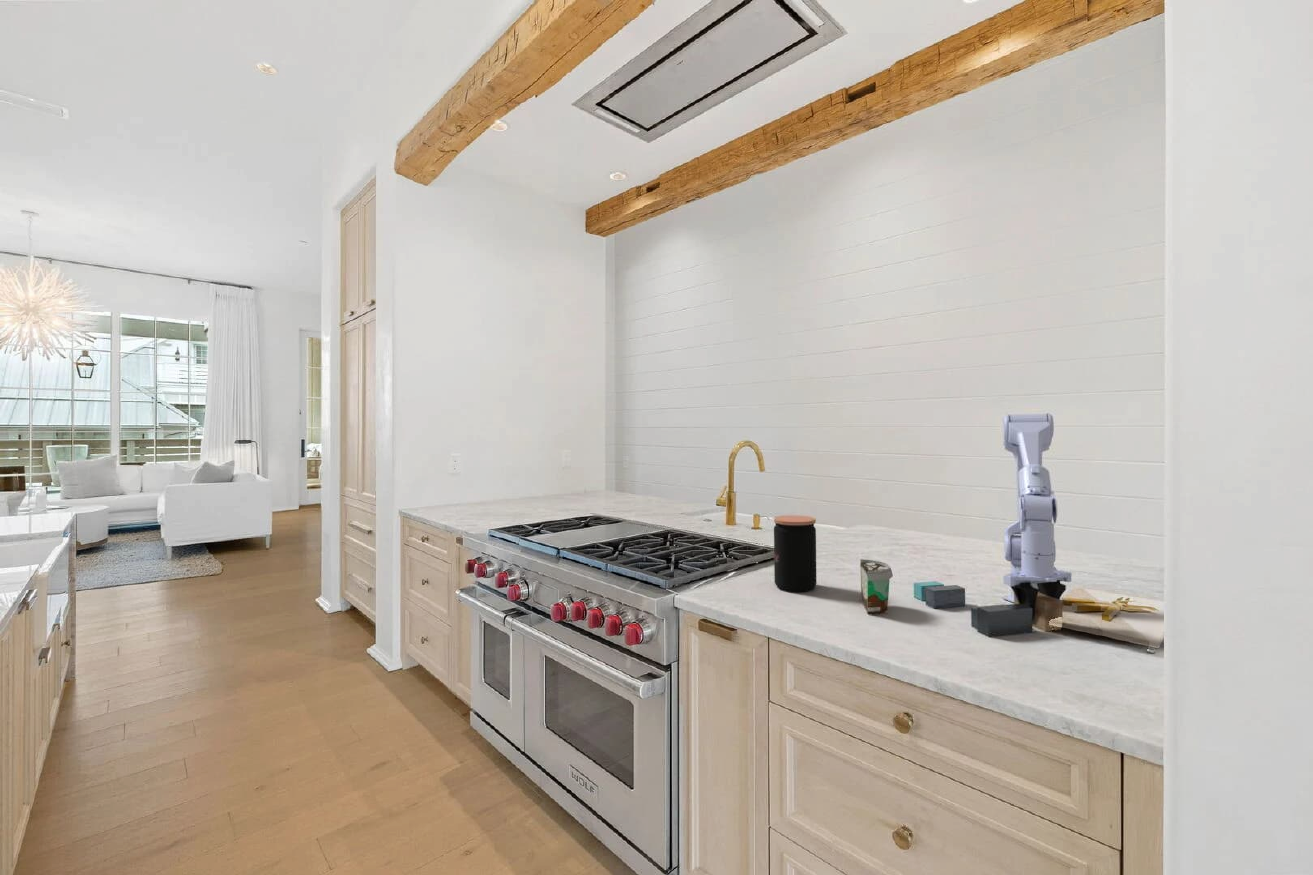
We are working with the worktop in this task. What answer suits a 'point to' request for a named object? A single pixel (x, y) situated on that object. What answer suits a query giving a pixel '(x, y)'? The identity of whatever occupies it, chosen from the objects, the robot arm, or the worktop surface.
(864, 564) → the food container
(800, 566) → the coffee jar
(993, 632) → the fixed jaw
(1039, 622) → the walnut block
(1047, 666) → the worktop surface
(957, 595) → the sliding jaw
